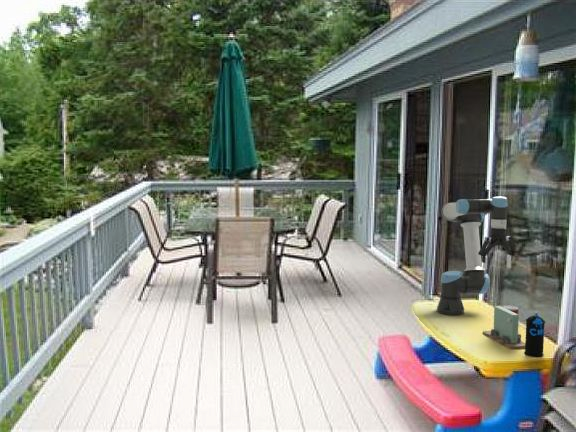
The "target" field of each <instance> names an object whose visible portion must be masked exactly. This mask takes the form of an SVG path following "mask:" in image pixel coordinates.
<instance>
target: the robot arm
mask: <svg viewBox="0 0 576 432" xmlns="http://www.w3.org/2000/svg"><path fill="white" fill-rule="evenodd" d="M508 204H509V203H508V198H507V197H505V196H493V197H492V198H485V199H483V198H482V199H480V198H479V199H476V198H475V199H469V198H463V199H458V200H456V201H453V202H448V203H446V204H444V205H443V206H442V208H441V215H442V217H443V218H444V219H445V220H447V221H449V222H453V223H459V225H460V227H461V228H462V230H463V240H464V254H465V256H464V257H465V269H464V270H463V272H462V271H461V270H449V271H444V272H443V273H442V274H441V277H440V298H439V301H438V304H437V306H436V312H437V311H438V312H437V313H439V314H442V315H445V316H446V315H447V316H461V315H464V313H465V307H464V303H463V299H462V295H484V294H486V293H487V292H488V289H489V287H490V276H489V274H488V273H486V271H485V270H488V256H487V255H488V254H489V253H490V252H491V251H492V249H493V248H494V247H495V246H496V247H497V246H502V247H503V249H504V250H505V251H506V252H507V254H506V268H507V269H511V268H512V262H513V257H514V256H515V255H517V250H516V248H515V245H514V244H513V241H512V236H509V235H507V217H508ZM485 214H488V215H489V214H490V233H489V235H490V237H488V236H485V237H484V240H483V242H482V244H480V243H481V241H480V229H479V227H480V226H481V225H482V223H483V221H484V218H485ZM506 235H507V236H506ZM506 242H507V243H506Z"/></svg>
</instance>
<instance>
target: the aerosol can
mask: <svg viewBox="0 0 576 432" xmlns="http://www.w3.org/2000/svg"><path fill="white" fill-rule="evenodd" d="M525 321H526V322H525V324H526V325H525V342H524V343H525V348H524V351H523V352H524V355H526V356H528V357H531V356H532V358H541V357H543V356H545V355H544V341H545V324H546V321H545V320H544V319H543V317H541V316H539V312H538V311H533V314H532V315H531V316H527V318H526V319H525Z"/></svg>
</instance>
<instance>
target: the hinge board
mask: <svg viewBox="0 0 576 432" xmlns="http://www.w3.org/2000/svg"><path fill="white" fill-rule="evenodd" d="M482 334H483V335H485V336H486V337H488V338H489V339H491V340H493V341H494V342H497V343H498V344H500V345H502V346H503V347H505V348H506V349H509V350H518V349H525V342H524V341H522V334H520V333H518V343H513V344H512V343H510V342H509V338H508V337H506V336H504V335H503V336H502V338H501V337H499V336H497V331H495V330H494V328H491V330H483V331H482Z"/></svg>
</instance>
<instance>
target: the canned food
mask: <svg viewBox="0 0 576 432" xmlns="http://www.w3.org/2000/svg"><path fill="white" fill-rule="evenodd" d="M501 307H503V308H505V309H508V310H510V311H512V312H514V313H516V314H518V315H519V307H518V306H514V305H501Z"/></svg>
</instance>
